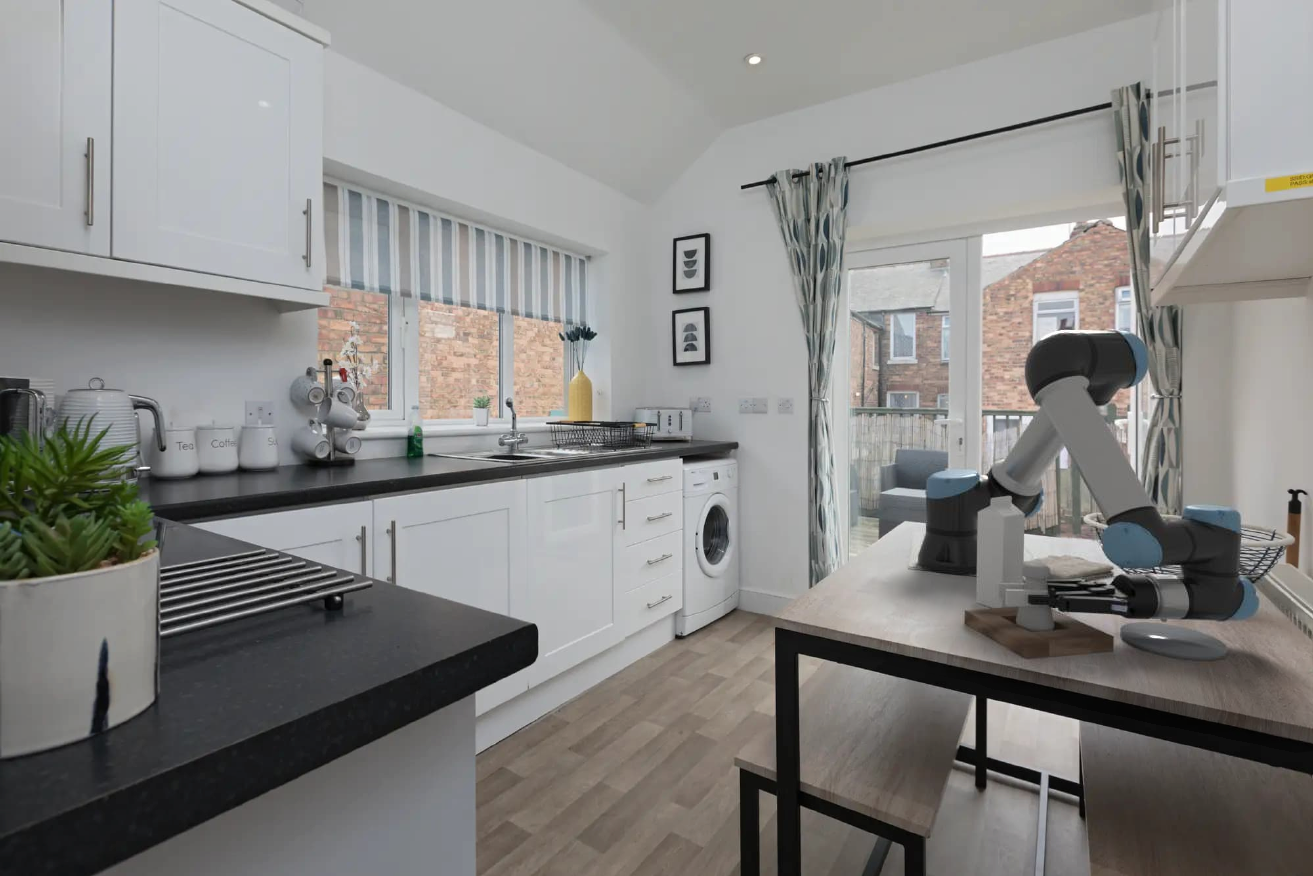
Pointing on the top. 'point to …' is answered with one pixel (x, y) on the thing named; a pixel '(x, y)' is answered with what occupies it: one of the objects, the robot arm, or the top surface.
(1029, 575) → the salt shaker
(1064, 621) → the socket block
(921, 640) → the top surface
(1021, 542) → the milk
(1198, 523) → the robot arm
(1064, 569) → the washcloth
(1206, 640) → the coaster
